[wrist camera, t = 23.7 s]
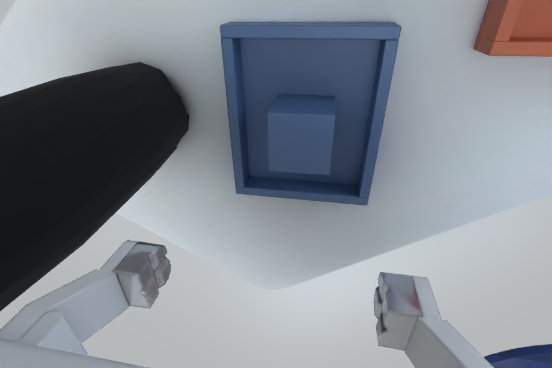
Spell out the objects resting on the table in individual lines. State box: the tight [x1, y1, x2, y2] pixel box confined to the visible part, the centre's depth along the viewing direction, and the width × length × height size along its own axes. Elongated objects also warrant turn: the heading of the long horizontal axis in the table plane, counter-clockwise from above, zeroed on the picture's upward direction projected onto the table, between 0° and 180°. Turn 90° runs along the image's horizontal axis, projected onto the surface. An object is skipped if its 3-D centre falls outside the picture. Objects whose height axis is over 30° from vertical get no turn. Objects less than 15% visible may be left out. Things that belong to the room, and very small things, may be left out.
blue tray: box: [220, 22, 401, 205], centre depth 24 cm, size 14×12×2 cm
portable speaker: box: [0, 62, 189, 311], centre depth 19 cm, size 9×9×20 cm
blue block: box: [267, 94, 335, 175], centre depth 23 cm, size 4×4×4 cm
